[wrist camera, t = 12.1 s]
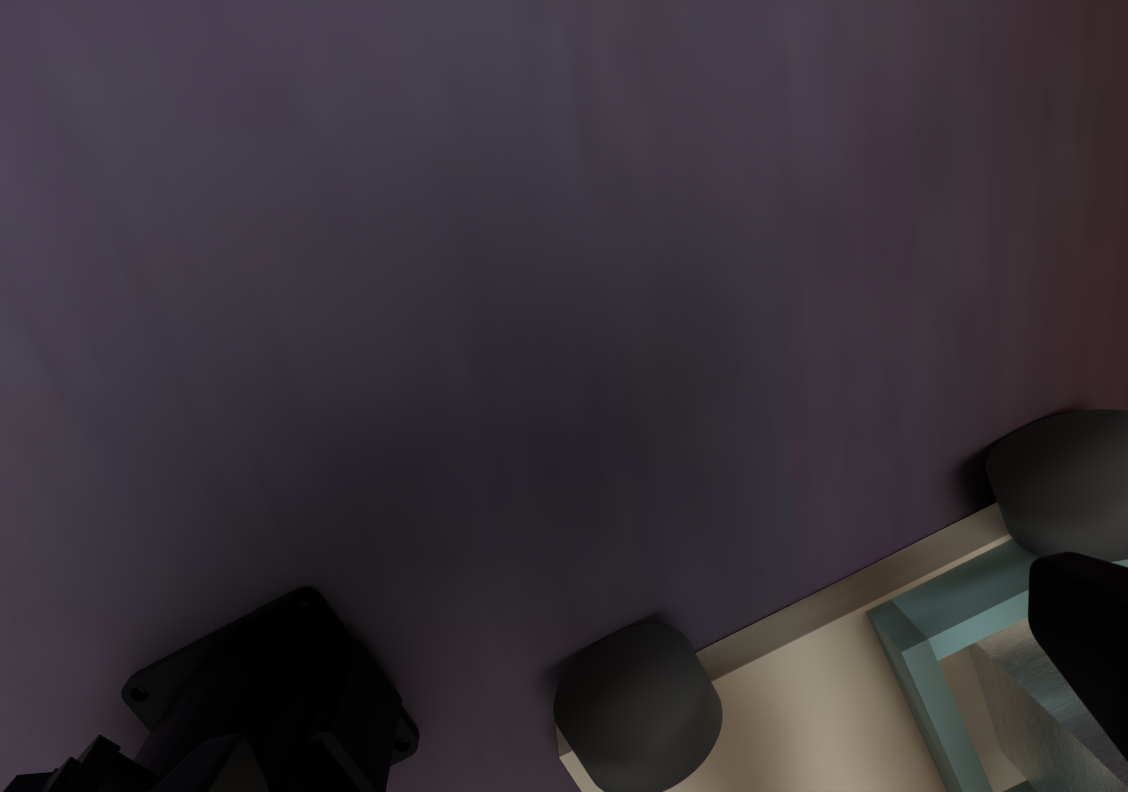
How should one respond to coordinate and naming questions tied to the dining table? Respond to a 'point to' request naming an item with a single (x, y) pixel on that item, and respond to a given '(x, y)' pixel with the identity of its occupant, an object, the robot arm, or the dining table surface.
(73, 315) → the dining table surface
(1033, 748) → the tall gray rectangular block
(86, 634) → the dining table surface
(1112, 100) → the dining table surface
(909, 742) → the toy car chassis
